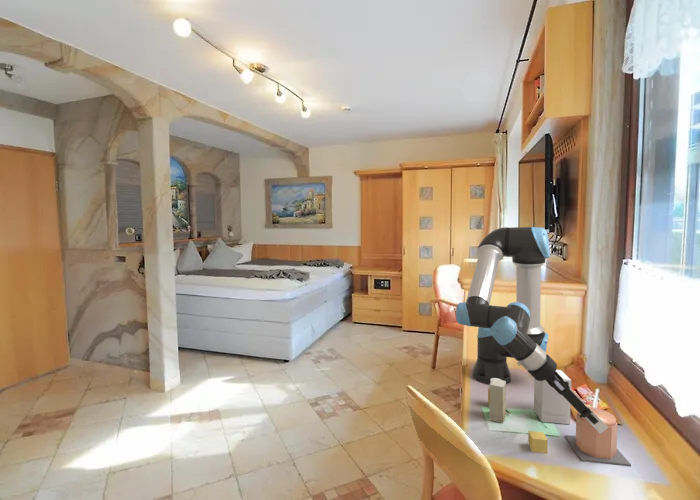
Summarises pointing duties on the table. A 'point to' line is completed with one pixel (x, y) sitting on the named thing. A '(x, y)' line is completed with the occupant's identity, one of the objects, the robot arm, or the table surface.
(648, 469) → the table surface
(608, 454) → the peach round canister
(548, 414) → the supplement box
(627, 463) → the rubber mat
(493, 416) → the skincare box
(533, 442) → the mustard block
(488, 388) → the supplement bottle
